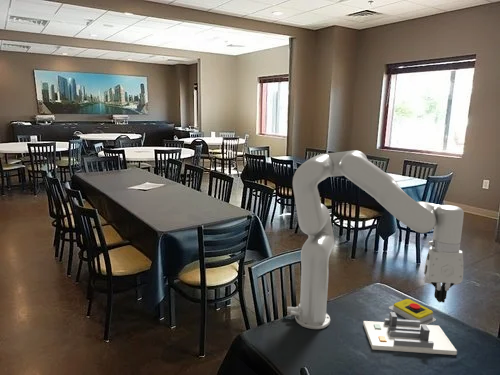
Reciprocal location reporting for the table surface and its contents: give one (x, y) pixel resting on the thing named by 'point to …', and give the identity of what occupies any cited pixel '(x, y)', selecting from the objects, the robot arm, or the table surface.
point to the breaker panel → (407, 337)
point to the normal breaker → (392, 319)
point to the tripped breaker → (424, 333)
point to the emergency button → (413, 311)
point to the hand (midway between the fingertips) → (439, 300)
